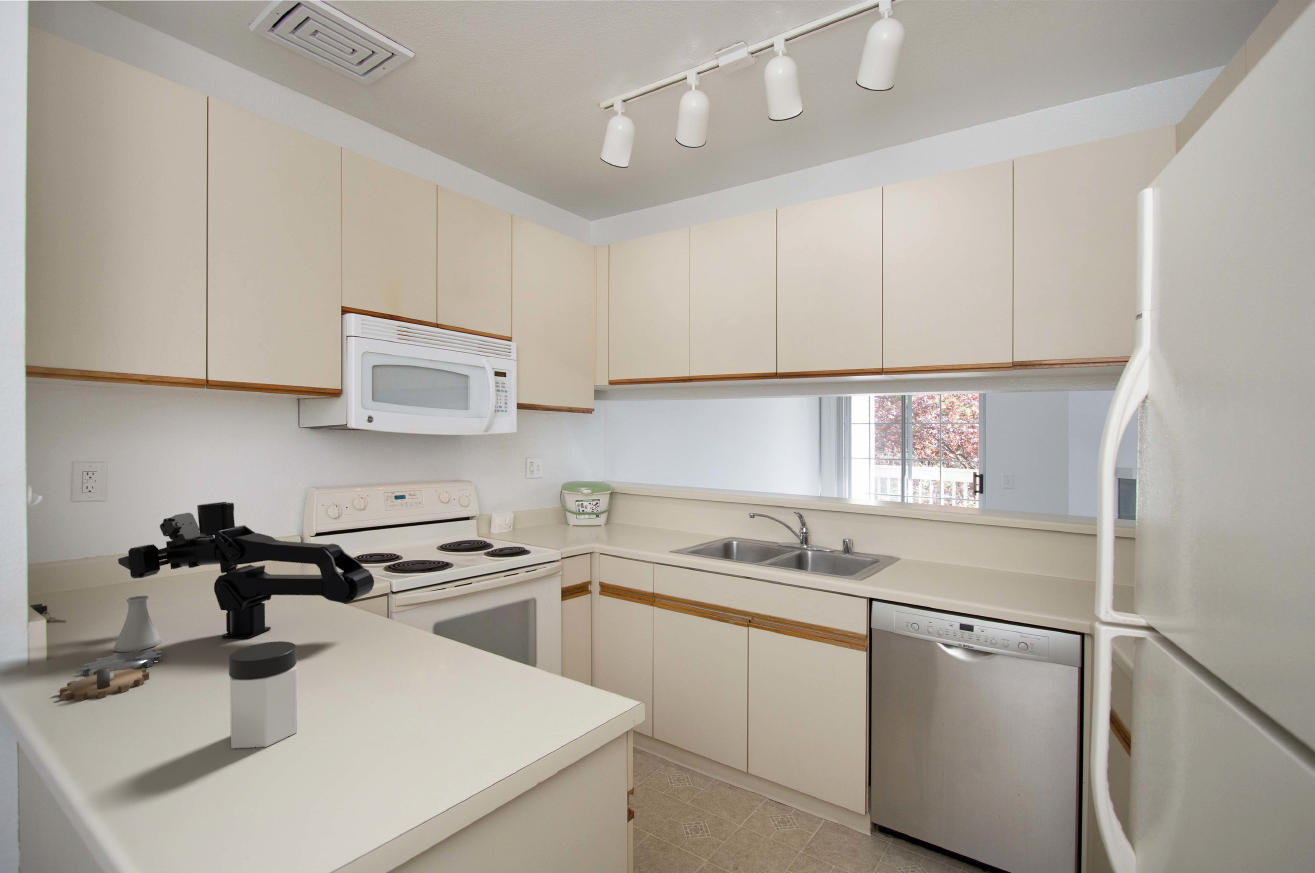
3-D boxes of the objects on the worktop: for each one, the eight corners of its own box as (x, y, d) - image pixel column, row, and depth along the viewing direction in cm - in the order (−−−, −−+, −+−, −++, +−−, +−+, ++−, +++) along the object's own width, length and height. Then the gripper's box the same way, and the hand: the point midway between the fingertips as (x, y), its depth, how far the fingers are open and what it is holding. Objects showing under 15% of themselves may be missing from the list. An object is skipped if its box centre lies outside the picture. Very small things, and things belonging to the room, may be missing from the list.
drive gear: (165, 674, 110) (165, 652, 110) (100, 702, 99) (99, 677, 99) (111, 671, 112) (111, 649, 112) (41, 698, 101) (40, 673, 100)
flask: (140, 653, 121) (139, 602, 121) (104, 653, 121) (103, 602, 121) (170, 640, 128) (169, 592, 128) (136, 640, 128) (135, 592, 128)
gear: (177, 655, 119) (177, 650, 119) (118, 678, 108) (118, 673, 108) (127, 652, 121) (127, 647, 121) (64, 675, 110) (63, 670, 110)
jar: (310, 719, 93) (309, 639, 92) (283, 747, 84) (282, 659, 84) (247, 722, 92) (246, 641, 92) (213, 750, 84) (212, 662, 83)
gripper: (235, 508, 142) (173, 513, 144) (162, 521, 124) (92, 526, 125) (239, 556, 142) (177, 560, 144) (168, 576, 124) (97, 581, 125)
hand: (139, 556), depth 135 cm, fingers open, 9 cm apart
